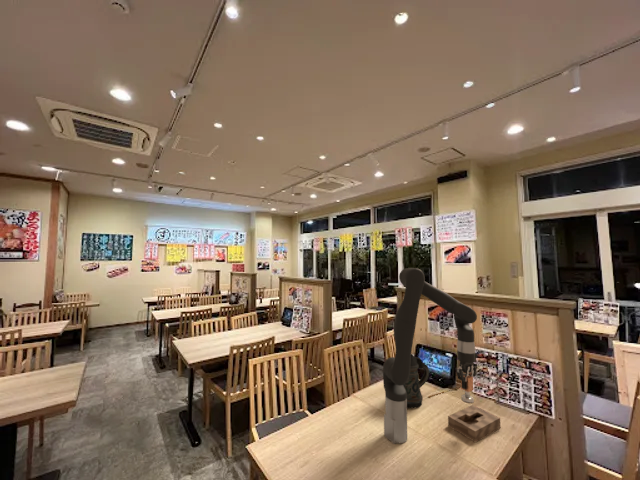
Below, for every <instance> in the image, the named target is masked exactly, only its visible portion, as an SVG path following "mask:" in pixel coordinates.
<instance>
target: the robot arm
mask: <svg viewBox="0 0 640 480" xmlns="http://www.w3.org/2000/svg"><path fill="white" fill-rule="evenodd" d="M398 275H399V276H398V277H399V283H401V284H402V285H403V286H404V287H405V289H404V297H403V298H402V302H401V303H400V305H399V307H398V308H397V311H396V313H395V317H394V322H393V337H394V343H395V354H394V355H395V356H391V357H388V358H387V359H386V360H385V361H384V362H383V366H382V380H383V389H384V393H385V394H384V395H385V399H384V400H385V413H384V414H383V436H384V437H385V439H387V440H389V442H391V443H392V444H393V445H394V444H404V443H406V442H407V441H408V408H407V392H406V390H405V388H404V386H403V385H404V384H405V383H406V382H407V381H408V379H409V375H410V364H411V354H412V350H413V343H414V338H415V337H414V336H415V333H416V332H415V331H416V326H417V318H418V312H419V308H420V307H419V306H420V300H421V296H422V295H423V296H424V297H426V298H427V299H429V300H430V301H431V302H433V303H434V304H436V305H437V306H439V307H440V308H441V309H443V310H445V311H446V312H448V313H451V314H452V315H453V320H454V324H455V328H456V331H457V333H456V335H457V336H456V337H457V338H456V339H457V341H456V352H457V353H456V355H457V357H456V358H457V360H458V361H459V366H458V367H455V371H456V377H457V379H458V380H460V383H461V382H462V388H463V389H465V390H466V389H467V377H468V375H469V376H472V377H473V378H475V377H476V376H477V368H478V364H477V363H476V343H475V331H474V329H473V328H472V327H471V326H470V324H474V323H476V321H478V314H477V313H476V311H475V310H474V309H473V308H471V307H470V306H468V305H466V304H465V303H462V302H461V301H459V300H457V299H456V298H454V297H453V296H451V295H450V294H449V293H447V292H445V291H444V290H442V289H440V288H438V287H436V286H434V285H433V284H431V283H428V282H427V281H425V280H426V278H425V274H424V272H423V270H421V269H419V268H417V267H415V268H414V267H408V268H406V267H405V268H404V269H402V270H401V271H400V273H399V274H398ZM464 376H465V378H464ZM463 389H462V390H463ZM465 390H464V391H465Z"/></svg>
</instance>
